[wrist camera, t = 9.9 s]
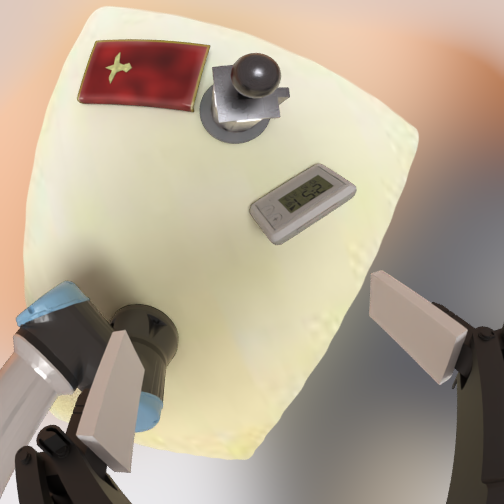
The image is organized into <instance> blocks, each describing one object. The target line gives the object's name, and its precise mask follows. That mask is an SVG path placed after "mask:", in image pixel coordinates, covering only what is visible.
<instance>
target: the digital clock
mask: <svg viewBox="0 0 504 504" xmlns="http://www.w3.org/2000/svg"><path fill="white" fill-rule="evenodd" d="M355 193H356V186H355V185H354V184H352V183H351V182H349V181H348V180H346V179H345V178H343V177H342V176H340V175H339V174H337V173H335V172H334V171H332V170H331V169H329V168H327V167H326V166H324V165H322V164H316V165H314V166H312V167H311V168H309V169H307V170H306V171H304V172H302V173H301V174H299V175H297V176H296V177H294V178H292V179H291V180H289V181H288V182H286V183H284V184H283V185H281V186H280V187H278V188H276V189H275V190H273V191H272V192H270V193H268V194H267V195H265V196H264V197H262V198H261V199H259V200H258V201H256V202H255V203H253V204H252V205H251V208H250V214H251V215H252V216H253V218H254V219H255V221H256V222H257V223H258V225H259V226H260V228H261V229H262V231H263V232H264V233H265V235H266V236H267V238H268V239H269V240H270V241H271V242H272V243H273V244H275V245H280V244H283V243H284V242H286V241H288V240H289V239H291V238H292V237H294V236H295V235H297V234H299V233H300V232H302V231H303V230H305V229H306V228H308V227H309V226H311V225H312V224H314V223H315V222H317V221H318V220H320V219H321V218H323V217H324V216H326V215H328V214H329V213H331V212H332V211H334V210H335V209H337V208H338V207H340V206H341V205H343V204H344V203H346V202H347V201H348V200H350V199H351V198H352V197H353V196H354V195H355Z"/></svg>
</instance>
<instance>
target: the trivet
mask: <svg viewBox="0 0 504 504" xmlns="http://www.w3.org/2000/svg"><path fill="white" fill-rule="evenodd" d="M212 93H213V85H212V86H211V87H210V88H209V89H208V90H207V91H206V93H205V94H204V96H203V98H202V100H201V104H200V117H201V121H202V124H203V126H204V127H205V129H206V130H207V131H208V132H209V134H211V135H212V136H213V137H214V138H216V139H218V140H220V141H222V142H226V143H232V144H238V143H244V142H248V141H250V140H252V139H254V138H256V137H257V136H259V135H260V134H261V133H262V132H263V131H264V129H265V128H266V127H267V125H268V123H269V120H270V119H262V120H261V121H259V122H258V123H257V124H255V125H254V126H253V127H252V128H251V129H249V130H247V131H245V132H241V133H231V132H227V131H224V130H222V129H221V128H219V127H218V126H217V125H216V124H215V122H214V121H213V119H212V116H211V103H212Z"/></svg>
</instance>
